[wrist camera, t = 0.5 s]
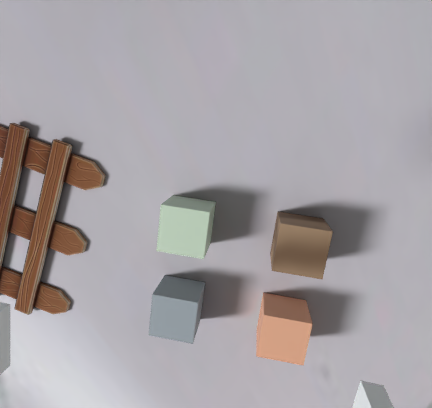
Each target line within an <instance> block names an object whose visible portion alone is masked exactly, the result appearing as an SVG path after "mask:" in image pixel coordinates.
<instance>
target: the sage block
mask: <svg viewBox="0 0 432 408" xmlns="http://www.w3.org/2000/svg"><path fill="white" fill-rule="evenodd" d="M215 205H216V202H213V201H207V200H200V199H194V198H187V197H181V196H174V195H173V196H171V197H170V198H169V199H168V200H166V201H165V202H164V203H162V204H161V209H160V219H159V230H158V241H157V251H159V252H165V253H171V254H177V255H183V256H189V257H195V258H200V259H204V257H205V255H206V253H207V250H208V248H209V246H210V243H211V235H212V228H213V220H214V213H215Z"/></svg>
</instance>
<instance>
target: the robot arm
mask: <svg viewBox="0 0 432 408" xmlns="http://www.w3.org/2000/svg"><path fill="white" fill-rule="evenodd" d="M9 366H10V304H6V303H1V302H0V375H1V374H2V373H3V372H4V371H5V370H6V369H7V368H8V367H9ZM352 408H394V407H393V405H392V403H391V401H390V399H389V396H388V394H387V392H386V390H385V388H384V386H383V385H379V384H374V383H370V382H365V381H360V384H359V388H358V391H357V394H356V397H355V401H354V404H353V407H352Z"/></svg>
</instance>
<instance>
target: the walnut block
mask: <svg viewBox="0 0 432 408" xmlns="http://www.w3.org/2000/svg"><path fill="white" fill-rule="evenodd" d="M332 233H333V231H332V230H331V228H330V227H329V226H328V224H327V223H326V222H325V220H324V219H323V218H317V217H310V216H304V215H297V214H291V213H284V212H278V213H277V219H276V224H275V230H274V236H273V241H272V247H271V252H270V255H271V266H272V271H277V272H282V273H288V274H294V275H300V276H306V277H312V278H317V279H322V278H323V274H324V269H325V265H326V260H327V256H328V251H329V247H330V242H331V238H332Z"/></svg>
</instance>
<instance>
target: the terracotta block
mask: <svg viewBox="0 0 432 408" xmlns="http://www.w3.org/2000/svg"><path fill="white" fill-rule="evenodd" d="M311 329H312V320H311V317H310V313H309V309H308V306H307V302H306V300H302V299H296V298H291V297H285V296H279V295H274V294H268V293H263V298H262V303H261V309H260V314H259V320H258V326H257V353H256V356H258V357H263V358H268V359H273V360H278V361H283V362H288V363H293V364H298V365H304V360H305V356H306V351H307V347H308V342H309V338H310V333H311Z"/></svg>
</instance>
